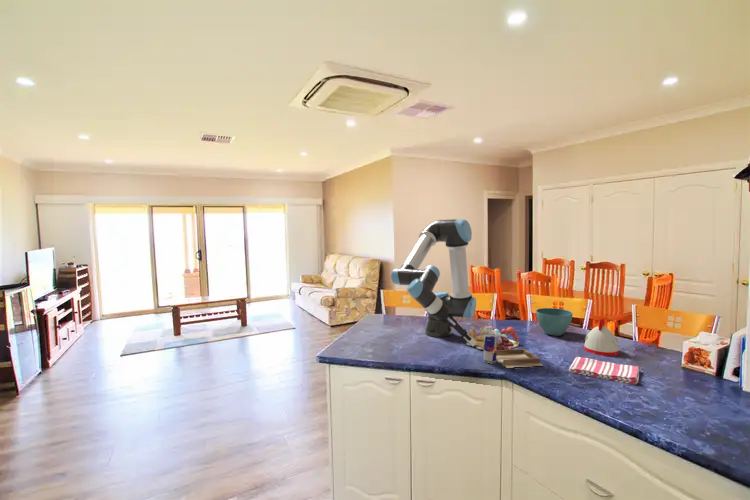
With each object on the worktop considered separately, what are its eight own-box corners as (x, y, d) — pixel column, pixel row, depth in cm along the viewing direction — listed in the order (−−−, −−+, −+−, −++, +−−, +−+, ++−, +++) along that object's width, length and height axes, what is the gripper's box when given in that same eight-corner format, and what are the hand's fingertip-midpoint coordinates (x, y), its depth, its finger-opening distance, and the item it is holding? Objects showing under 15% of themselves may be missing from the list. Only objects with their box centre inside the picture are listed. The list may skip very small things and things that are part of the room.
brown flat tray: (489, 354, 172) (489, 349, 172) (521, 352, 174) (521, 347, 174) (506, 369, 155) (506, 362, 154) (542, 366, 156) (542, 360, 156)
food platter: (502, 356, 171) (502, 336, 170) (458, 346, 187) (457, 328, 186) (523, 343, 189) (523, 325, 188) (481, 335, 205) (481, 318, 204)
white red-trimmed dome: (621, 350, 175) (622, 318, 174) (615, 358, 164) (616, 325, 164) (588, 344, 184) (588, 314, 183) (580, 351, 174) (581, 320, 173)
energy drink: (490, 364, 160) (489, 337, 159) (481, 361, 164) (481, 334, 164) (499, 362, 162) (498, 335, 161) (490, 358, 167) (489, 332, 166)
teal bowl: (573, 331, 207) (573, 309, 206) (571, 340, 191) (571, 316, 190) (538, 327, 216) (538, 306, 215) (533, 335, 200) (533, 313, 200)
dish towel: (638, 387, 136) (638, 378, 136) (567, 373, 150) (567, 365, 150) (639, 372, 149) (639, 363, 149) (574, 360, 163) (574, 353, 163)
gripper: (427, 311, 166) (463, 345, 168) (435, 318, 153) (474, 355, 155) (438, 299, 166) (474, 333, 168) (447, 304, 153) (486, 342, 156)
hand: (474, 343), depth 162 cm, fingers closed
